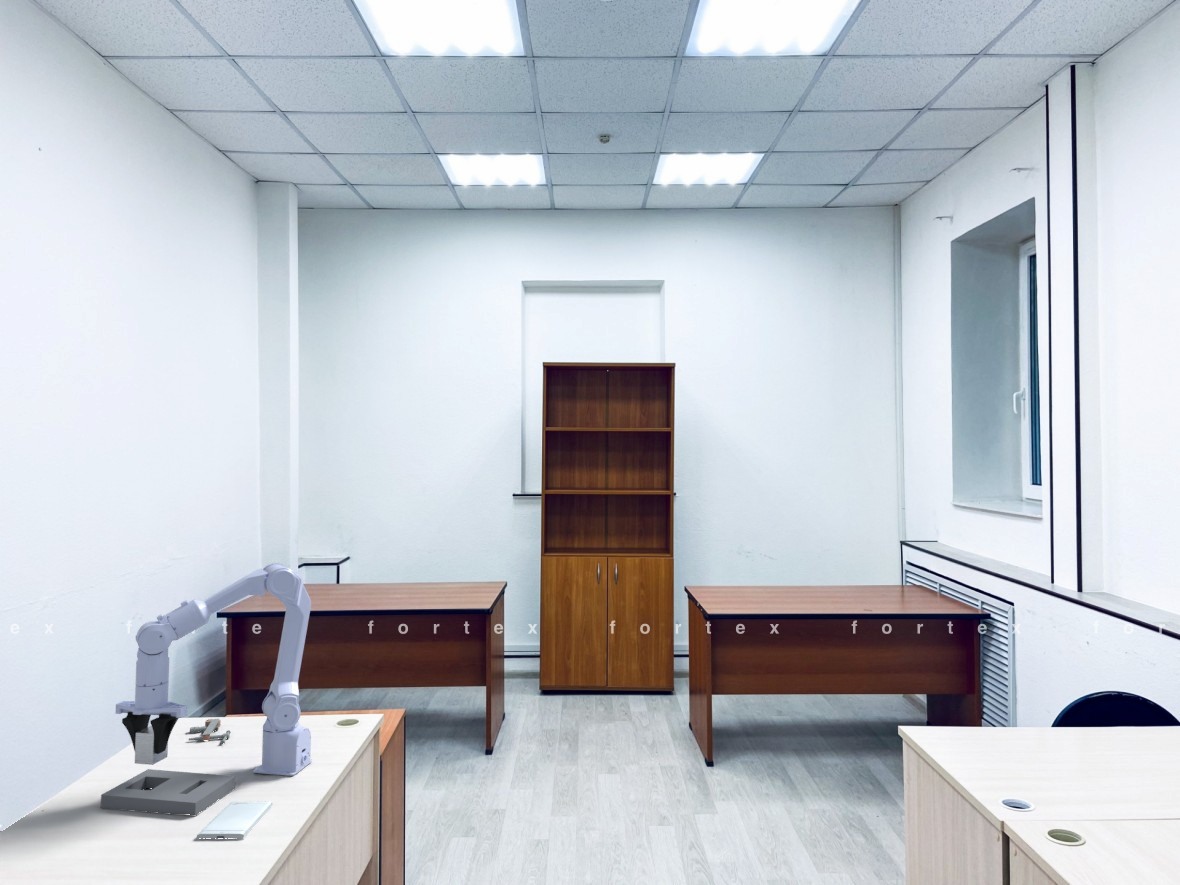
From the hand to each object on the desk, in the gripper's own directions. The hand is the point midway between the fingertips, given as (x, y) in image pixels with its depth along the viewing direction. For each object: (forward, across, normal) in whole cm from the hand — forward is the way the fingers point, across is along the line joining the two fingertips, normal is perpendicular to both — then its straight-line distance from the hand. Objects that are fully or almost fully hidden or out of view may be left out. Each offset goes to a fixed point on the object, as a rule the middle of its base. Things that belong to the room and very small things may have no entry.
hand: (150, 751), depth 145 cm
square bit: (+2, 0, 0) cm, 2 cm away
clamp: (+9, -10, +31) cm, 34 cm away
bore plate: (+9, +5, 0) cm, 10 cm away
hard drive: (+9, +24, -7) cm, 27 cm away
